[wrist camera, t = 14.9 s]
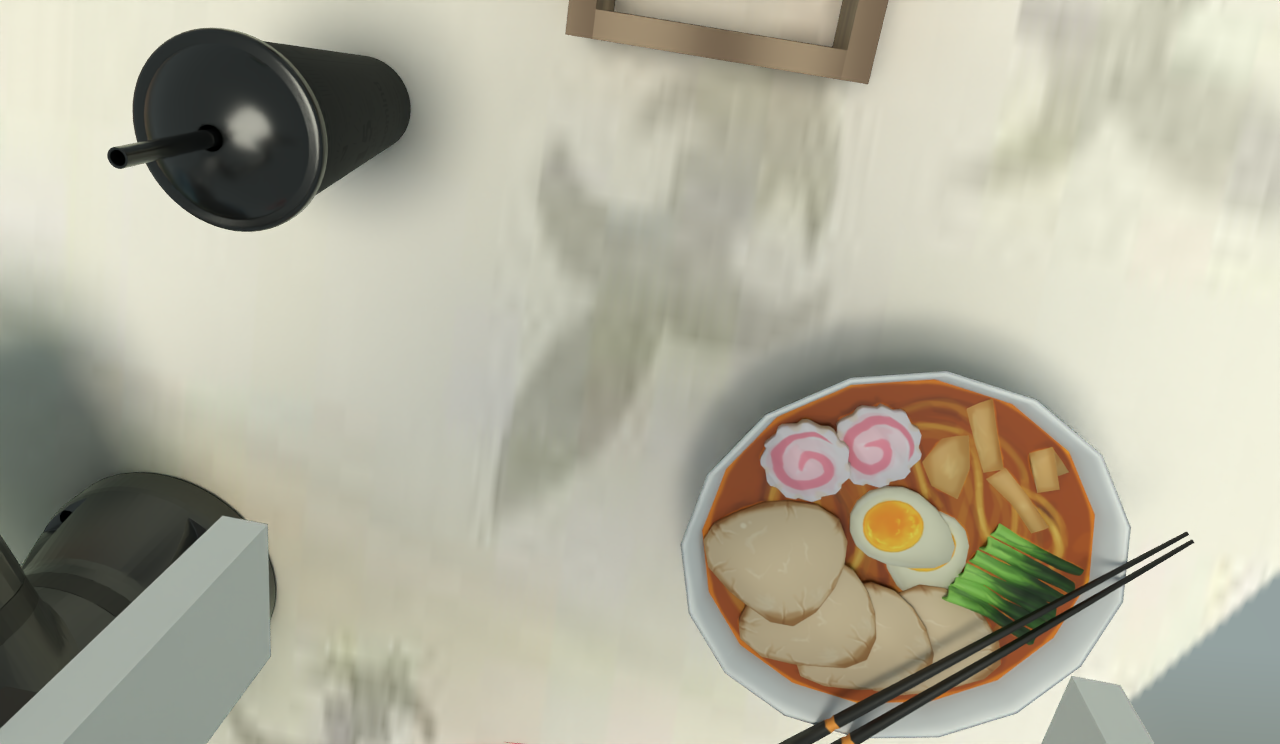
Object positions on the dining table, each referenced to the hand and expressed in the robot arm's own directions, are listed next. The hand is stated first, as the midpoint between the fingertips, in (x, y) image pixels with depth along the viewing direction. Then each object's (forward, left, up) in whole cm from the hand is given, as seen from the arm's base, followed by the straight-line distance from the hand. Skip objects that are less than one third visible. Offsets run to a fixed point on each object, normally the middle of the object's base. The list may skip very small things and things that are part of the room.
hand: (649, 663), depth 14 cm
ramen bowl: (+13, -15, -35) cm, 40 cm away
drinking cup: (-19, +3, -35) cm, 40 cm away
